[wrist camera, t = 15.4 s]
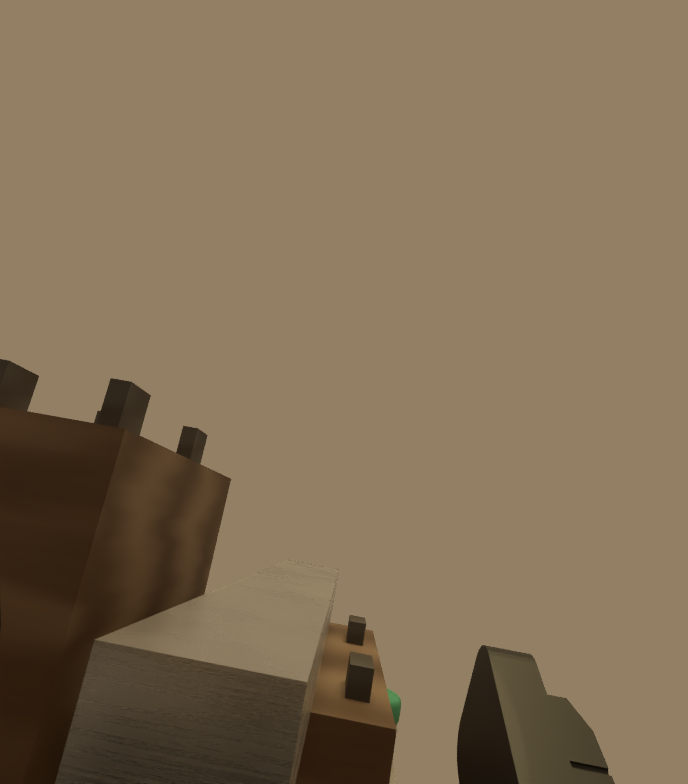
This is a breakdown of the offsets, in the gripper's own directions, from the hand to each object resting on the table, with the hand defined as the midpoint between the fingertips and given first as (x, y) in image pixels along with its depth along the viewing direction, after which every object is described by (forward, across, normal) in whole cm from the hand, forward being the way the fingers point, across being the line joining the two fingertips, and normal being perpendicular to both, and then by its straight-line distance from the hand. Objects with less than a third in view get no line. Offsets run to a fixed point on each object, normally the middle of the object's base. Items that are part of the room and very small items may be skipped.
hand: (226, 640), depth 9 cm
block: (+8, 0, +8) cm, 11 cm away
